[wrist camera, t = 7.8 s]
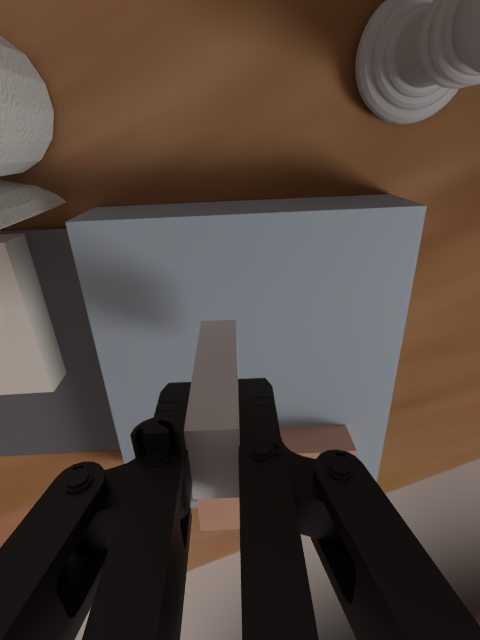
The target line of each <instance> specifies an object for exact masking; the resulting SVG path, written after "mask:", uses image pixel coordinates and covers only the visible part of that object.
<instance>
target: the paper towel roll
mask: <svg viewBox="0 0 480 640" xmlns="http://www.w3.org/2000/svg"><path fill="white" fill-rule="evenodd" d="M53 121H54V111H53V107H52V104H51V101H50V97H49V94H48V91H47V88H46V84H45V83H44V81H43V80H42V78H41V77H40V75H39V74H38V72H37V71H36V69H35V68H34V66H33V65H32V63H31V62H30V61H29V59H28V58H27V56H26V55H25V54H24V53H22V52H21V51H20V50H19V49H17V48H16V47H15V46H14V45H12V44H11V43H10V42H8V41H7V40H6V39H5V38H3V37H2V36H1V35H0V176H5V175H12V174H18V173H23V172H25V171H26V170H28V169H29V168H31V167H32V166H33V165H35V164H36V163H38V162H39V161H41V160H42V158H43V156H44V154H45V152H46V150H47V148H48V146H49V144H50V142H51V140H52V139H53ZM65 203H66V201H65V200H63V199H62V198H61V197H59V196H58V195H56V194H55V193H52V192H50V191H47V190H45V189H42V188H40V187H37V186H34V185H28V184H23V183H17V182H11V181H5V180H3V179H1V178H0V229H3V228H5V227H8V226H10V225H13V224H15V223H18V222H20V221H23V220H25V219H28V218H30V217H33V216H35V215H38V214H40V213H43V212H45V211H48V210H50V209H53V208H55V207H58V206H60V205H63V204H65Z"/></svg>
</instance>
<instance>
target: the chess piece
mask: <svg viewBox="0 0 480 640" xmlns="http://www.w3.org/2000/svg"><path fill="white" fill-rule="evenodd" d="M355 75H356V82H357V86H358V90H359V93H360V95H361V97H362V99H363V101H364V103H365V104H366V106H367V107H368V108H369V109H370V110H371V111H372V112H373V113H374V114H375V115H376V116H378V117H379V118H381V119H383V120H385V121H387V122H390V123H394V124H410V123H415V122H418V121H421V120H424V119H426V118H428V117H430V116H431V115H433V114H435V113H436V112H437V111H439V110H440V109H441V108H442V107H444V106H445V105H446V104H447V103H448V102H449V101H450V100H451V99H452V97H453V96H454V95H455V94H456V93H457V91H458V90H459V88H464V87H467V86H473V85H478V84H480V0H385V1H384V2H383V3H382V4H381V5H380V6H379V7H378V8H377V10H376V11H375V12H374V13H373V15H372V16H371V18H370V19H369V21H368V23H367V25H366V27H365V29H364V31H363V33H362V36H361V39H360V42H359V45H358V49H357V55H356V63H355Z"/></svg>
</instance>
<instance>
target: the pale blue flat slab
mask: <svg viewBox="0 0 480 640" xmlns="http://www.w3.org/2000/svg"><path fill="white" fill-rule="evenodd" d="M426 208H427V206H426V205H423V204H420V203H417V202H414V201H410V200H407V199H404V198H401V197H398V196H395V195H392V194H379V195H356V196H333V197H311V198H288V199H266V200H243V201H221V202H198V203H176V204H153V205H131V206H108V207H93V208H92V209H90V210H88V211H86V212H84V213H82V214H80V215H78V216H76V217H74V218H72V219H70V220H68V221H66V222H65V224H66V228H67V232H68V236H69V240H70V244H71V248H72V252H73V256H74V260H75V265H76V269H77V273H78V277H79V281H80V285H81V289H82V293H83V297H84V301H85V306H86V310H87V314H88V318H89V322H90V326H91V330H92V334H93V338H94V342H95V347H96V351H97V355H98V359H99V363H100V367H101V371H102V375H103V379H104V383H105V388H106V392H107V396H108V400H109V404H110V408H111V412H112V416H113V420H114V424H115V429H116V433H117V437H118V441H119V445H120V449H121V453H122V457H123V461H124V464H125V463H128V462H130V461H131V460H133V459H135V454H134V450H133V445H132V441H131V436H130V434H131V433H132V431H133V429H134V428H135V427H136V426H137V425H139V424H140V423H141V422H143V421H145V420H147V419H150V418H153V417H154V413H155V410H156V406H157V404H158V399H159V395H160V392H161V391H162V389H163V388H164V387H165V386H166V385H167V384H168V383H175V382H192V375H193V369H194V363H195V356H196V350H197V344H198V337H199V331H200V325H201V321H217V320H236V333H237V355H238V379H247V378H266V379H267V380H268V382H269V383H270V384H271V385H272V387H273V393H274V399H275V406H276V411H277V417H278V423H279V429H283V428H301V427H319V426H337V425H346V427H347V429H348V431H349V434H350V436H351V438H352V441H353V443H354V445H355V448H356V450H357V452H356V457H357V458H358V459H359V460H360V461H361V462H362V463H363V464H364V466H365V467H366V468H367V470H368V471H369V473H370V474H371V475H372V477H373V478H374V480H375V481H376V482H377V478H378V472H379V467H380V461H381V456H382V450H383V445H384V439H385V434H386V428H387V423H388V417H389V412H390V406H391V401H392V395H393V390H394V384H395V378H396V373H397V367H398V362H399V356H400V351H401V345H402V340H403V334H404V329H405V323H406V318H407V312H408V307H409V301H410V296H411V290H412V285H413V279H414V274H415V268H416V263H417V257H418V252H419V246H420V241H421V235H422V230H423V224H424V219H425V213H426ZM190 506H191V508H198V505H197V499H194V500H193V496H192V494H191V503H190Z"/></svg>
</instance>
